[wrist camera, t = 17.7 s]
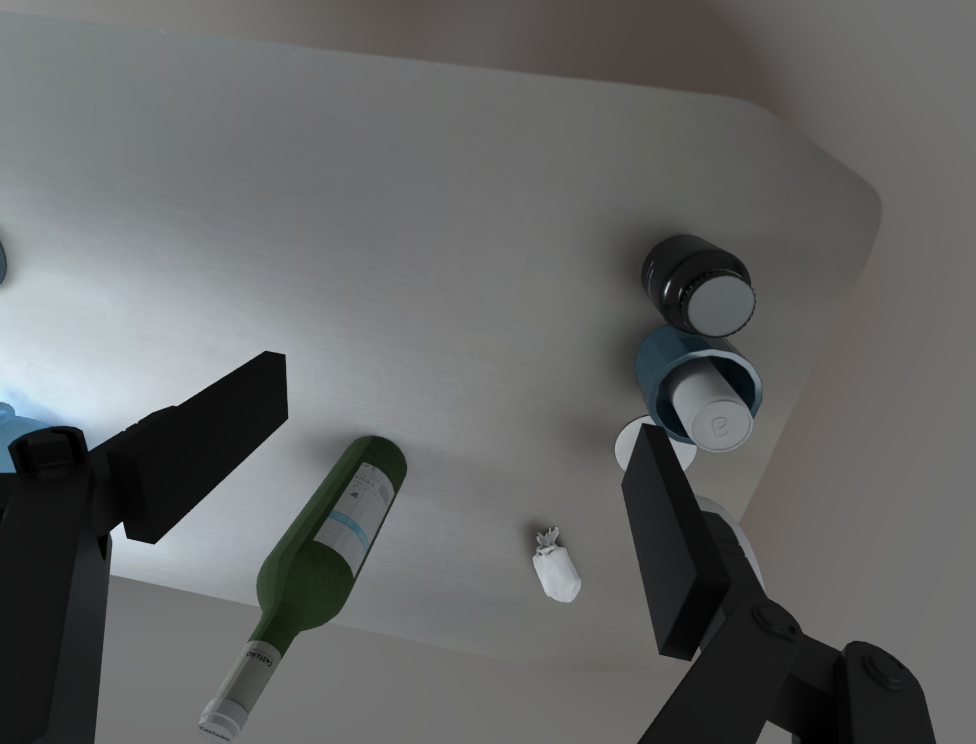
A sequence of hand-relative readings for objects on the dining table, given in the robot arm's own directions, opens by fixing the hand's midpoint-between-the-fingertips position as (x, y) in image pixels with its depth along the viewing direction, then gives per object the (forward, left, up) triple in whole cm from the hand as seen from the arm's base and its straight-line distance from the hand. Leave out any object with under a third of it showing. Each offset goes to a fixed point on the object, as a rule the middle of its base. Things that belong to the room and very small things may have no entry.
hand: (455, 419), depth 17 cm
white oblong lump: (+17, +34, -31) cm, 49 cm away
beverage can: (-8, +18, -30) cm, 36 cm away
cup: (-8, +18, -31) cm, 36 cm away
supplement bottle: (-12, +9, -31) cm, 34 cm away
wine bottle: (+28, +10, -31) cm, 43 cm away
